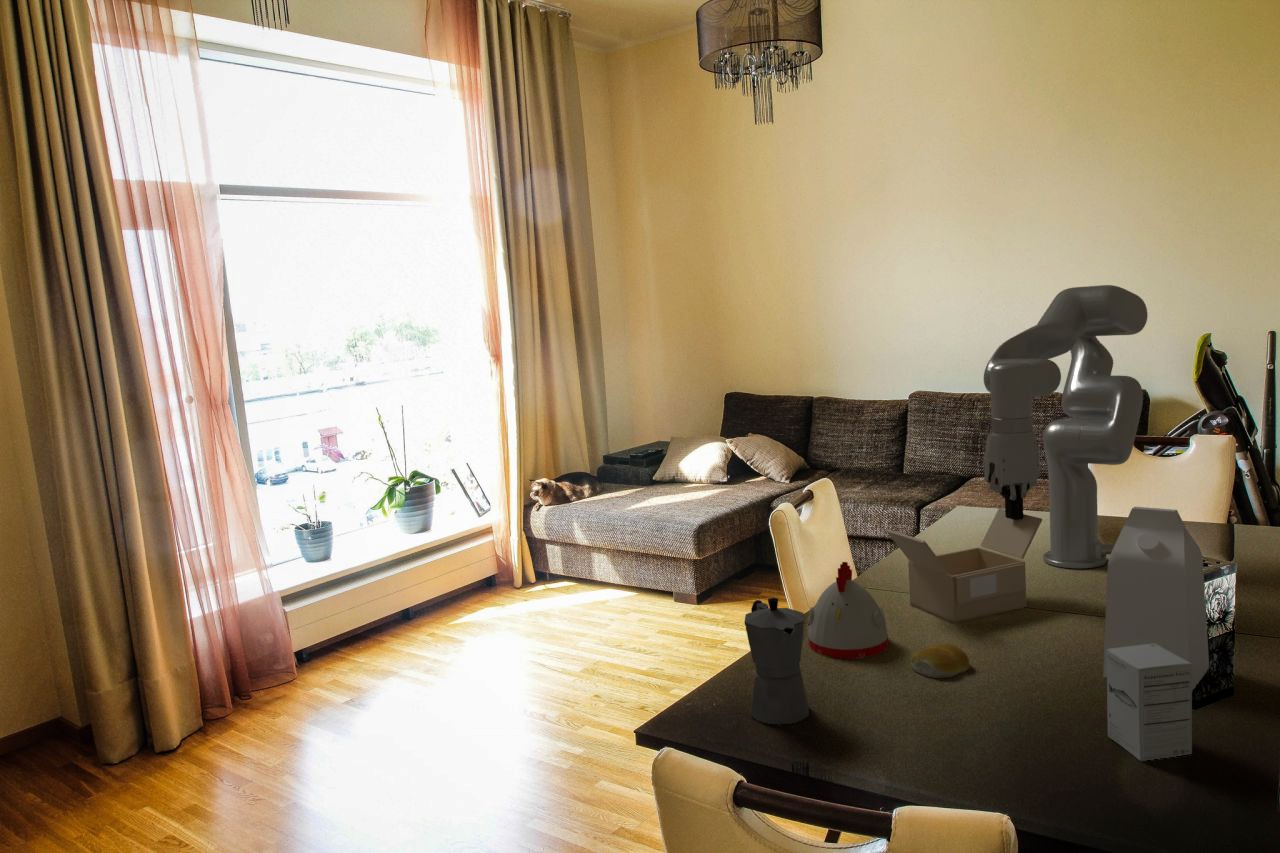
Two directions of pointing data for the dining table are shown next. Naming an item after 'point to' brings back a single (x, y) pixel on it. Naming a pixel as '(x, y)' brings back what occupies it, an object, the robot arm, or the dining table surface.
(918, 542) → the flap
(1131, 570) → the milk
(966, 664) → the bread roll
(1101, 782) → the dining table surface
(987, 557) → the carton
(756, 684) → the coffeepot
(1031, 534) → the flap
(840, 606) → the kitchen timer
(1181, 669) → the supplement box
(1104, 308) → the robot arm
